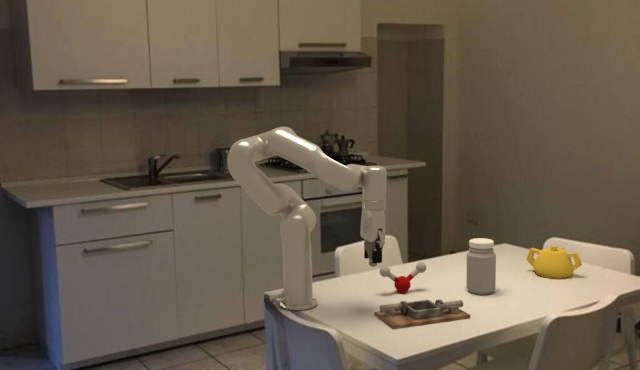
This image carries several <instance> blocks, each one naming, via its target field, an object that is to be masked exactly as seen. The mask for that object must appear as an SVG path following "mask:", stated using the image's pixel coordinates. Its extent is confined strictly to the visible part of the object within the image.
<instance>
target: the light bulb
mask: <svg viewBox="0 0 640 370" xmlns="http://www.w3.org/2000/svg"><path fill="white" fill-rule="evenodd" d="M375 241H379V239H376V240H375ZM377 244H379V243H376V246H377ZM363 246H364V247H363V248H365V250H366V252H367V254H368V265H369V266H370V267H376V266H377V265H378V263H372V251H374V250H373V242H369V241H367V240H365V242H364V241H363Z"/></svg>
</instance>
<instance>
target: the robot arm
mask: <svg viewBox="0 0 640 370" xmlns="http://www.w3.org/2000/svg"><path fill="white" fill-rule="evenodd" d="M275 156H278V157H279V158H282V159H284V160H286V161H289V162H290V163H292V164H294V165H296V166H298V167H300V168H302V169H304V170H305V171H307V172H308V173H310V174H311V175H313V176H315V177H316V178H317V179H319V180H321V181H322V182H324V183H326V184H328V185H330V186H333V187H335V188H337V189H339V190H341V191H345V192H351V191H353V190H355V189H357V188H358V187H362V191H361V192H362V193H361V194H362V199H361V216H360V231H359V232H360V233H359V234H360V235H359V236H360V237H361V238H362V239H363V240H364V241H363V243H364V242H365V240H367V241H369V242H373V250H374V251H372V263H377V264H382V262H383V251H384V249H383V248H384V246H385V244H386V241H385V240H386V216H385V214H386V213H385V211H386V209H387V175H388V173H387V169H386V167H385V166H382V165H368V166H367V165H361V164H356V163H349V164H346V165H345V164H343V163H340V162H338V161H336V160H334V159H333V158H331V157H329V156H328V155H326V154H325V153H324V151H323V149H321V147H320V146H319V145H317V144H316V143H313V142H311V141H309V140H308V139H305V138H303V137H302V136H301V137H300V136H299V135H297V134H296V132H295V131H294V129H292V128H291V127H288V126H278V127H275V128H273V129H271V130H269V131H265V132H262V133H260V134H256V135H253V136H249V137H246V138H241V139H238V140H236V142H234V143H233V144H232V145H231V147H229V151H228V153H227V161H226V163H227V168H228V172H229V174H230V176H231V177H232V179H233V180H234V181H235V182H236V183H237V184H238V186H240V187H241V188H242V189H243V190H244V191H245V192H246V194H247V195H248V196H249V197H250V198H251V199H252V200H253V201H254V202H255V203H256V204H257V206H259V208H261V210H262V211H264V212H265V213H266V215H269V216H274V217H276V216H280V217H281V218H282V220H281V222H280V227H279V229H280V230H279V231H280V232H279V233H280V239H281V248H282V249H281V251H282V275H283V277H282V278H283V290H281V292H280V293H278V295H277V294H276V295H275V294H274V295H269V302H270V303H271V302H275V303H279V302H281V303H283V304H284V305H285V306H286V308H287V309H286V310H288V309H289V310H288V311H305V310H309V309H311V310H312V309H313V308H316V307H317V306H318V299H316V298H315V297H314V295H313V293H314V291H313V259H312V242H311V232H312V231H313V230H314V229H315V227H316V224H317V216H316V213H315V212H314V210H313V209H312V208H311V207H310V206H309V204H307V203H306V202H305V201H304V199H302V198H301V196H300V195H299V194H298V193H297V192H296V191H295V190H294V189H293V188H292V187H290V186H288V185H287V184H284V183H274V182H273V181H272V180H271V179H270V178H269V177H268V176H267V175H266V173H264V172H263V171H262V170H261V169H260V168H258V167H257V166H256V164H255V163H256V162H259V161H262V160H265V159H268V158H272V157H275ZM376 239H379V241H375V240H376ZM376 243H379V244H377V246H376ZM363 248H364V247H363ZM363 250H364V252H363V253H364V255H363V257H364V259H365V260H366V259H368V260H369V258H368V254H367V252H366V250H365V248H364V249H363Z"/></svg>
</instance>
